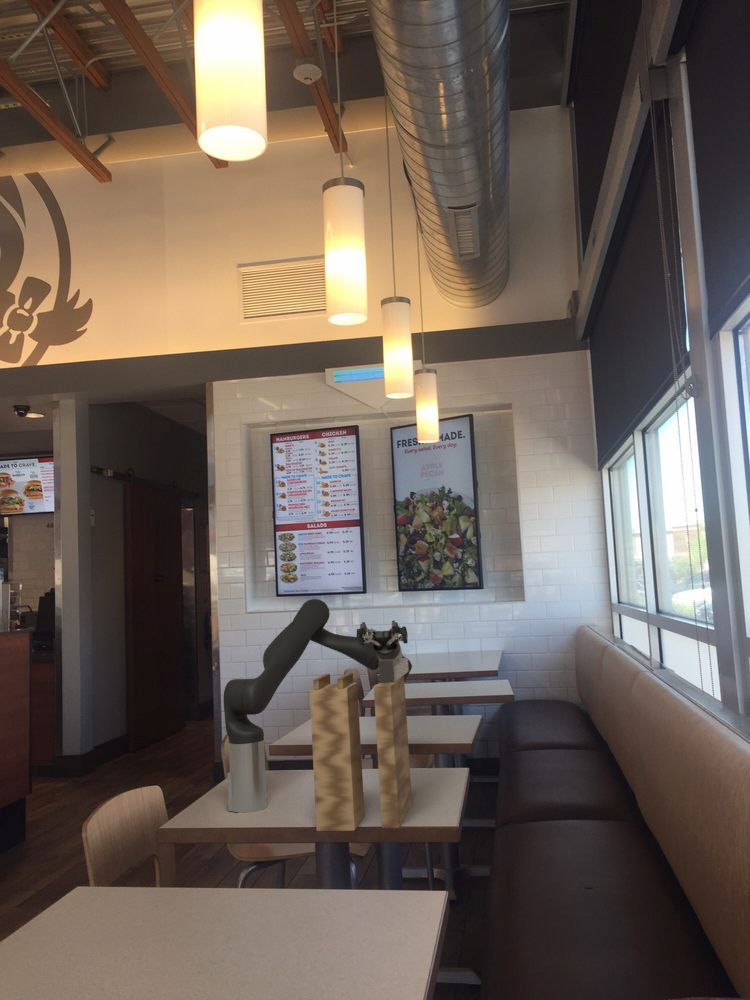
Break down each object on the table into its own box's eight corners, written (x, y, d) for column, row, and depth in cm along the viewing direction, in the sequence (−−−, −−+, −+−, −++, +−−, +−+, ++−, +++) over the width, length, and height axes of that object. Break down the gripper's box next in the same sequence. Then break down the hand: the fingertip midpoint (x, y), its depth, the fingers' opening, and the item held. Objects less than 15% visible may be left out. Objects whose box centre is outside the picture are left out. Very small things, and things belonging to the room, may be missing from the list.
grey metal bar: (394, 682, 201) (392, 660, 202) (379, 683, 202) (378, 661, 202) (408, 671, 226) (407, 652, 226) (395, 671, 226) (394, 652, 227)
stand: (316, 830, 192) (309, 679, 196) (339, 803, 215) (332, 669, 219) (397, 830, 189) (388, 676, 192) (411, 802, 212) (403, 666, 216)
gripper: (364, 639, 248) (353, 613, 235) (412, 636, 245) (403, 610, 232) (363, 662, 243) (352, 637, 231) (411, 660, 241) (403, 635, 228)
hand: (378, 624), depth 232 cm, fingers open, 8 cm apart
